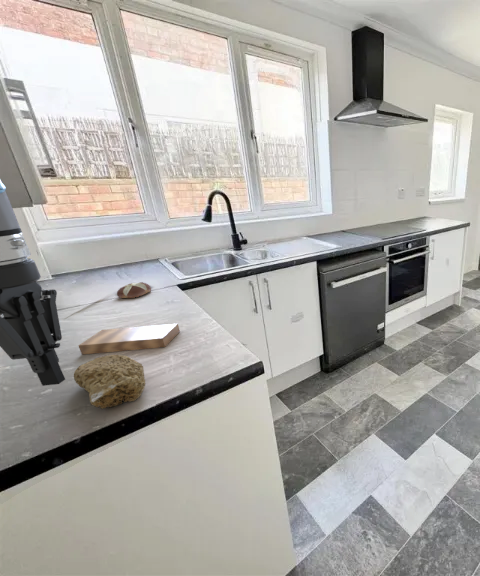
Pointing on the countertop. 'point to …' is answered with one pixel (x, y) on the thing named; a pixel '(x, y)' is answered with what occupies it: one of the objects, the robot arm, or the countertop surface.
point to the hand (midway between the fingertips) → (54, 382)
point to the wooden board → (129, 339)
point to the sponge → (111, 380)
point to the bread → (133, 290)
